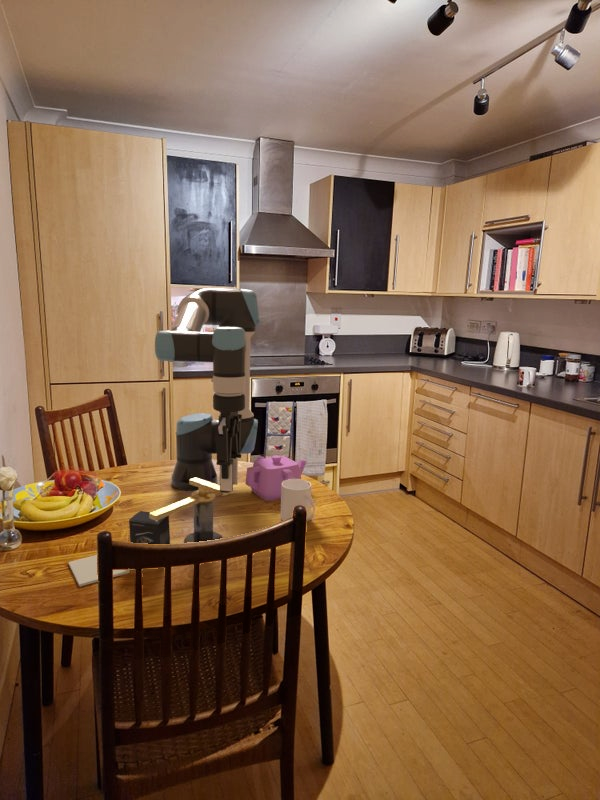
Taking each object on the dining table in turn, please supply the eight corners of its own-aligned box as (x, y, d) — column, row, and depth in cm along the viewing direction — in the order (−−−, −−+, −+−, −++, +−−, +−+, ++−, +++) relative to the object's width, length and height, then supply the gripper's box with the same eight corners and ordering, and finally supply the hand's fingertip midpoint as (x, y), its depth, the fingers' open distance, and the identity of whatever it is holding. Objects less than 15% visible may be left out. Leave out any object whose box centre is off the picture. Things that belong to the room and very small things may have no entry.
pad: (68, 564, 122) (68, 562, 122) (116, 552, 128) (116, 550, 128) (79, 586, 113) (79, 584, 113) (129, 572, 119) (129, 570, 119)
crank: (141, 514, 121) (140, 466, 119) (201, 491, 136) (200, 447, 134) (180, 531, 114) (180, 480, 111) (239, 504, 129) (239, 459, 126)
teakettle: (243, 499, 163) (243, 461, 160) (258, 480, 179) (259, 446, 177) (295, 505, 160) (296, 467, 157) (306, 485, 176) (307, 451, 173)
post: (177, 539, 136) (177, 496, 133) (212, 530, 141) (212, 489, 139) (193, 555, 128) (193, 510, 125) (229, 545, 133) (229, 502, 131)
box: (171, 553, 128) (170, 513, 126) (160, 565, 123) (159, 523, 121) (141, 549, 130) (140, 509, 128) (129, 560, 125) (128, 518, 122)
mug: (302, 532, 142) (303, 496, 140) (274, 517, 151) (275, 482, 148) (324, 523, 148) (326, 488, 146) (296, 509, 156) (297, 476, 154)
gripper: (225, 386, 130) (225, 474, 135) (201, 398, 114) (202, 498, 119) (253, 387, 129) (253, 476, 134) (233, 401, 113) (233, 501, 118)
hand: (229, 486), depth 126 cm, fingers open, 4 cm apart
